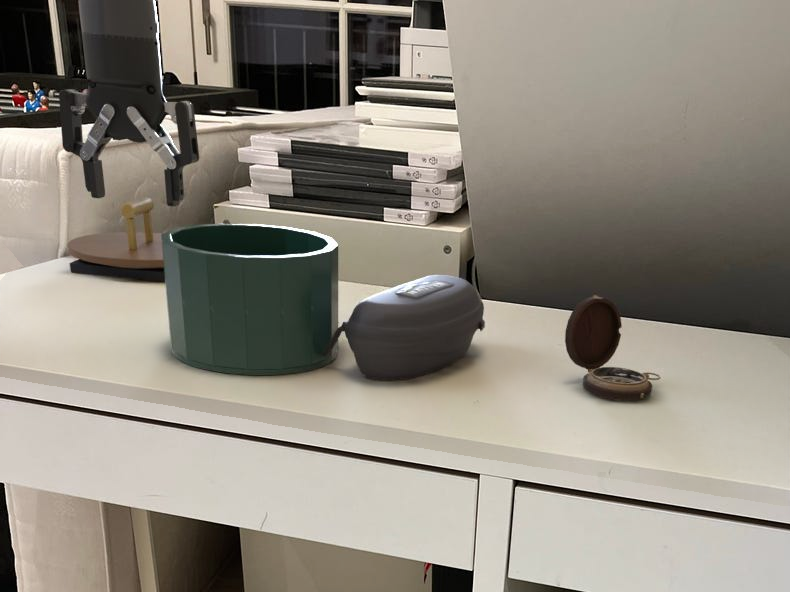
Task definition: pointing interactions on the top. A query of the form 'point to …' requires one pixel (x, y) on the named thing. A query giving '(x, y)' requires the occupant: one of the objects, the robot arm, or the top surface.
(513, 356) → the top surface
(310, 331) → the toy tin
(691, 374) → the top surface
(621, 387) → the compass
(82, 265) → the mat
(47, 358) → the top surface
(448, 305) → the glasses case
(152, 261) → the lid
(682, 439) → the top surface
